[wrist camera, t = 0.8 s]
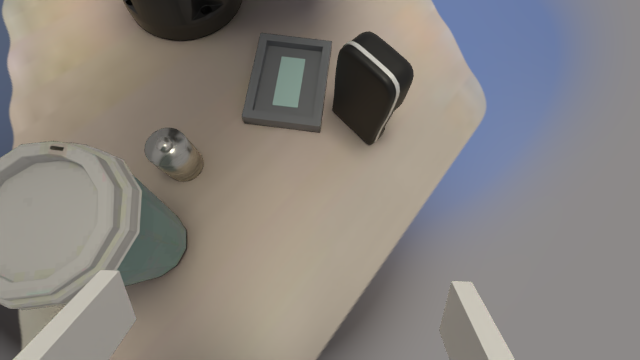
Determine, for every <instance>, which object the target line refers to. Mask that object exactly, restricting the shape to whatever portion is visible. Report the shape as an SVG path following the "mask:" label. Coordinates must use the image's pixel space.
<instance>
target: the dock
mask: <svg viewBox="0 0 640 360" xmlns="http://www.w3.org/2000/svg"><path fill="white" fill-rule="evenodd" d="M331 45H332V41H325V40H317V39H308V38H300V37H292V36H283V35H275V34H267V33H261V34H260V38H259V43H258V47H257V51H256V56H255V60H254V65H253V69H252V73H251V78H250V82H249V87H248V91H247V95H246V100H245V104H244V109H243V113H242V119H243V121H244V123H247V124H255V125H263V126H272V127H280V128H288V129H296V130H304V131H312V132H320V128H321V120H322V113H323V106H324V98H325V91H326V83H327V76H328V69H329V61H330V54H331Z"/></svg>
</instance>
